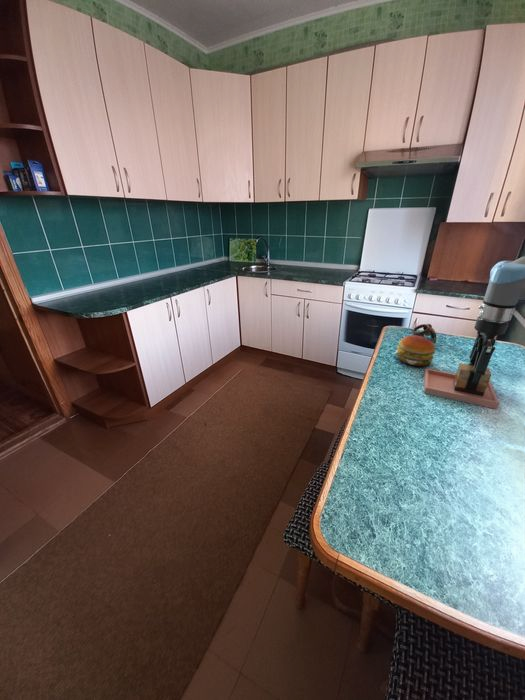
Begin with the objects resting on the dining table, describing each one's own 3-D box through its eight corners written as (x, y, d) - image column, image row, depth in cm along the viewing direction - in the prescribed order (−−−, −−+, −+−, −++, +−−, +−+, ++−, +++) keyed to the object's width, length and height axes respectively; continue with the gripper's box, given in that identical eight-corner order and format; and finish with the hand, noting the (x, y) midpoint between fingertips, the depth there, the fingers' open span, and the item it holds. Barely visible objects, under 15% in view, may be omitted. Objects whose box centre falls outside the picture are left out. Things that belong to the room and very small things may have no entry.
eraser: (481, 388, 96) (489, 368, 92) (483, 396, 92) (491, 374, 89) (453, 383, 99) (459, 363, 96) (454, 390, 96) (461, 369, 92)
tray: (488, 386, 99) (490, 380, 98) (496, 409, 88) (499, 403, 87) (424, 373, 107) (425, 368, 106) (424, 393, 96) (425, 387, 95)
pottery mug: (436, 347, 127) (429, 332, 124) (413, 350, 134) (407, 335, 131) (441, 331, 134) (435, 317, 131) (419, 335, 141) (413, 321, 138)
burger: (430, 372, 107) (437, 348, 103) (391, 363, 114) (396, 340, 109) (433, 357, 118) (439, 334, 113) (397, 350, 124) (402, 328, 119)
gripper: (474, 308, 93) (453, 370, 104) (482, 327, 79) (458, 397, 90) (502, 311, 90) (479, 375, 100) (517, 331, 76) (487, 403, 87)
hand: (469, 385), depth 95 cm, fingers closed on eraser, 4 cm apart
